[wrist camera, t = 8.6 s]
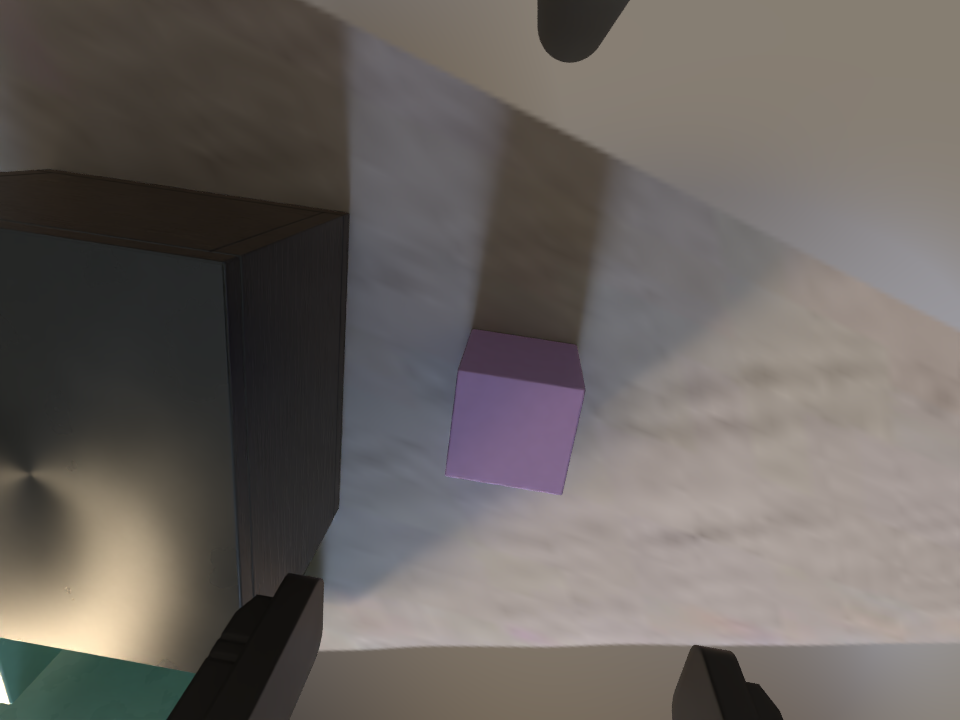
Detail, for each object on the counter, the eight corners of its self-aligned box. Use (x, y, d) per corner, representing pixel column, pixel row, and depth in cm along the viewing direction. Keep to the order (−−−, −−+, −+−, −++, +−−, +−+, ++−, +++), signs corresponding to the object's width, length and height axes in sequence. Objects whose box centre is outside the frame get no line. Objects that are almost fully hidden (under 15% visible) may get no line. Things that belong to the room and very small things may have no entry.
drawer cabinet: (339, 508, 28) (245, 683, 19) (98, 468, 28) (-104, 619, 19) (349, 212, 22) (224, 262, 13) (49, 168, 23) (-267, 187, 14)
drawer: (317, 702, 32) (252, 867, 25) (127, 667, 32) (9, 818, 25) (323, 418, 25) (234, 533, 17) (79, 378, 25) (-105, 474, 18)
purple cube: (471, 328, 23) (457, 368, 19) (577, 344, 23) (586, 389, 19) (460, 420, 25) (444, 476, 21) (557, 436, 25) (561, 496, 21)
